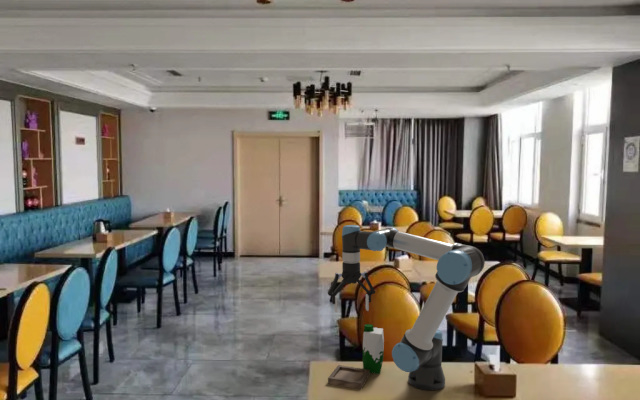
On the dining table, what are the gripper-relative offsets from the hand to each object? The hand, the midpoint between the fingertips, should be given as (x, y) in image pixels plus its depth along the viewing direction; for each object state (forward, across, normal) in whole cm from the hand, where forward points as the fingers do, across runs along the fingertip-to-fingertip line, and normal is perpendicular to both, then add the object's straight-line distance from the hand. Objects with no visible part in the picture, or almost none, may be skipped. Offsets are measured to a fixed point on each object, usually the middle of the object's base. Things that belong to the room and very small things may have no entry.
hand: (351, 310), depth 226 cm
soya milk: (+28, -10, -3) cm, 30 cm away
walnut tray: (+28, +2, +6) cm, 28 cm away
